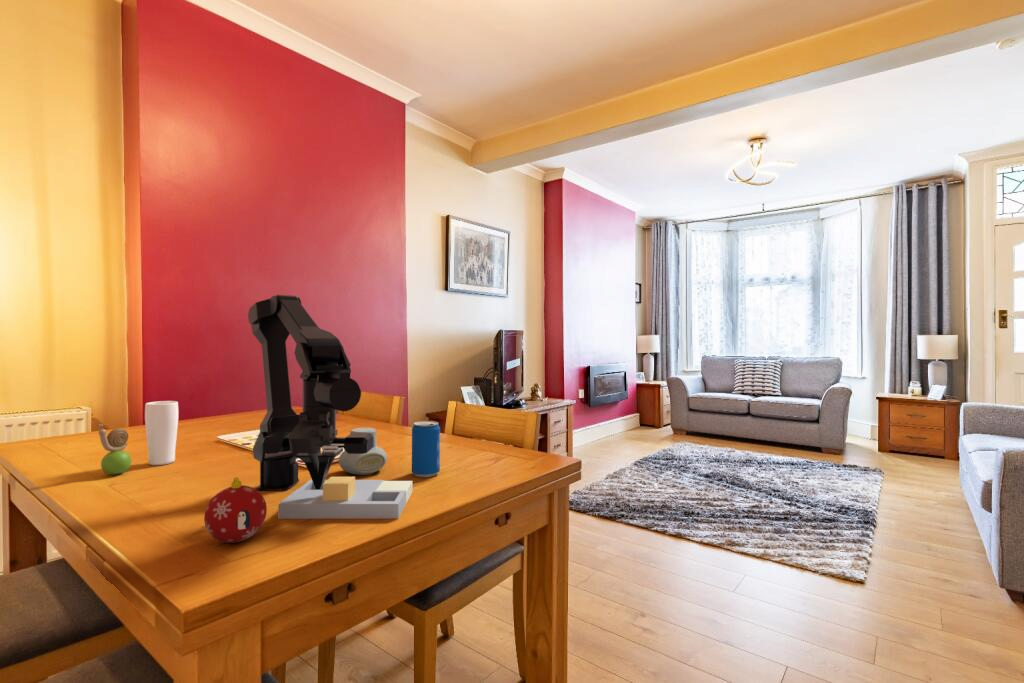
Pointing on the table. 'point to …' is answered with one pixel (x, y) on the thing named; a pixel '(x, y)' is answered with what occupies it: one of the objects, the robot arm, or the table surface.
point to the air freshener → (363, 457)
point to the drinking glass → (161, 431)
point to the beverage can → (425, 448)
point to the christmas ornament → (235, 513)
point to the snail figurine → (115, 451)
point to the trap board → (349, 502)
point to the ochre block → (339, 488)
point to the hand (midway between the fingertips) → (318, 489)
